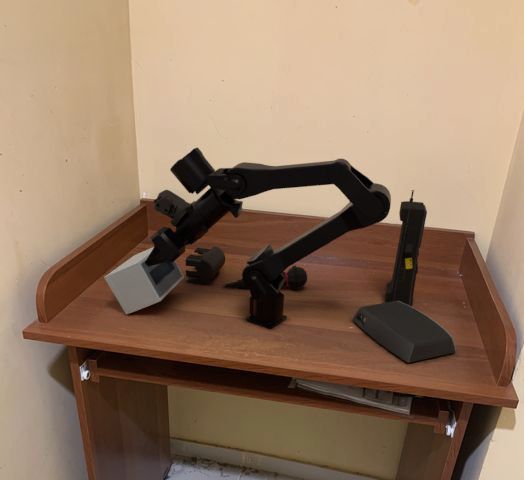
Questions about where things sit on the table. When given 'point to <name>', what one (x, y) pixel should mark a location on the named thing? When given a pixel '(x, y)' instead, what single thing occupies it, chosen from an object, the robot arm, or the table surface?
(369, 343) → the table surface
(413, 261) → the portable radio
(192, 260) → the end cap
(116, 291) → the grey hollow block
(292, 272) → the microphone
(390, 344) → the hard drive
